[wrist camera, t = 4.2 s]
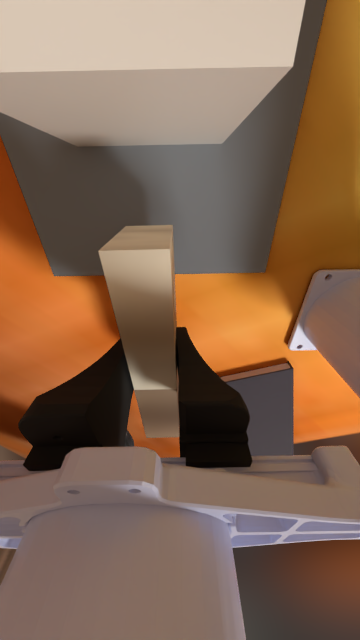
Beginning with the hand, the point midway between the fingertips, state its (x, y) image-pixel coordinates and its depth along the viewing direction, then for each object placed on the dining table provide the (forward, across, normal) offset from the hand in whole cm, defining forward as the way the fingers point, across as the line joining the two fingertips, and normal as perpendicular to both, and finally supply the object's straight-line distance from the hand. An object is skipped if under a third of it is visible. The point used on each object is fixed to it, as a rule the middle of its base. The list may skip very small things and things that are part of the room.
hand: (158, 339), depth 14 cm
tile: (+4, 0, -11) cm, 12 cm away
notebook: (+5, -10, +19) cm, 22 cm away
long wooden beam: (+1, 0, 0) cm, 1 cm away
